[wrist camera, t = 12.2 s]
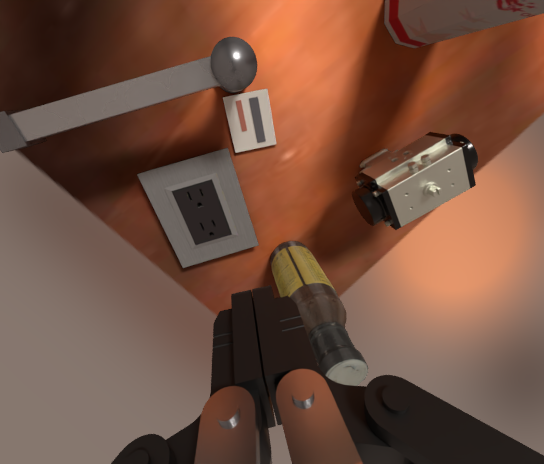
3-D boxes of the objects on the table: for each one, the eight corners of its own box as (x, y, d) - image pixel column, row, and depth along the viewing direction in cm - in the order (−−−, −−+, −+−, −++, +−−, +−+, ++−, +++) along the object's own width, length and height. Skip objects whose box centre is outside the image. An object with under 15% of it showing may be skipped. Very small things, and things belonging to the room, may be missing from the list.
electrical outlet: (257, 238, 39) (258, 246, 37) (185, 260, 39) (182, 269, 37) (227, 145, 33) (227, 148, 31) (142, 170, 33) (136, 175, 31)
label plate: (222, 97, 30) (222, 97, 30) (266, 88, 31) (267, 88, 30) (235, 152, 33) (235, 153, 33) (275, 143, 33) (276, 144, 33)
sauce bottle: (276, 280, 42) (313, 412, 24) (263, 246, 39) (296, 368, 21) (315, 267, 42) (382, 388, 24) (306, 232, 39) (374, 342, 22)
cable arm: (246, 38, 23) (249, 31, 21) (258, 85, 25) (262, 83, 22) (1, 110, 23) (-28, 111, 20) (29, 152, 25) (5, 159, 22)
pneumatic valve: (420, 157, 37) (499, 181, 26) (343, 202, 38) (389, 242, 27) (409, 119, 35) (491, 127, 24) (327, 168, 36) (371, 197, 25)
